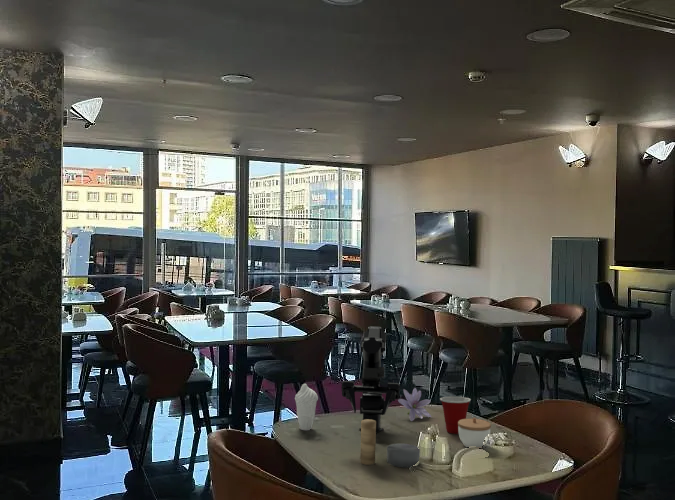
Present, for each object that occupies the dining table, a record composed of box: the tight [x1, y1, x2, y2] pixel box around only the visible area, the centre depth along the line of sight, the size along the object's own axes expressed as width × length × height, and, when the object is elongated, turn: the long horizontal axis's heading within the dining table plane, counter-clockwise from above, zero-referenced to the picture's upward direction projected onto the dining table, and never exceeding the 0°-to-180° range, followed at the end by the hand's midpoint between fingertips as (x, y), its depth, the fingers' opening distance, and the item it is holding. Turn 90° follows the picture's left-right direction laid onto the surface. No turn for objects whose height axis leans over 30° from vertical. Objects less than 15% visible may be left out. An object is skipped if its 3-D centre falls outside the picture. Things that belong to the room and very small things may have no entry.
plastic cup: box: [439, 396, 472, 435], centre depth 229 cm, size 11×11×12 cm
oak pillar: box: [359, 419, 377, 466], centre depth 195 cm, size 4×4×12 cm
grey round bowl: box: [386, 442, 421, 468], centre depth 196 cm, size 10×10×4 cm
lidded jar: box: [458, 417, 492, 448], centre depth 213 cm, size 11×11×9 cm
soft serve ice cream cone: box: [294, 383, 319, 431], centre depth 228 cm, size 8×8×16 cm
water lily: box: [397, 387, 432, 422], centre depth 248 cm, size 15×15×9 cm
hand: (369, 413), depth 202 cm, fingers open, 9 cm apart
